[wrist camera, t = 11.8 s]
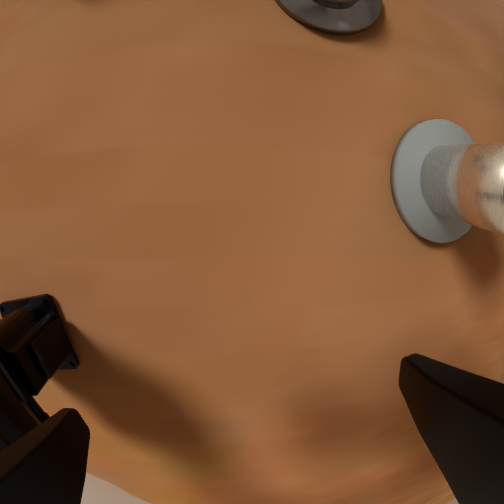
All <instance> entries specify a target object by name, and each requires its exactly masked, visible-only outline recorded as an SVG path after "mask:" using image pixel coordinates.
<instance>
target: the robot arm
mask: <svg viewBox="0 0 504 504" xmlns="http://www.w3.org/2000/svg"><path fill="white" fill-rule="evenodd" d="M45 299H46V300H47V301H48V303H47V302H46V300H45ZM0 313H1V315H2V319H1V320H0V504H80V503H81V498H82V493H83V486H84V482H85V476H86V467H87V457H88V448H89V440H90V430H89V428H88V426H87V425H86V423H85V422H84V420H83V419H82V417H81V415H80V414H79V412H78V411H77V410H76V409H73V408H63V409H61V410H60V411H58V412H57V413H56V414H54V415H53V416H51V417H50V416H49V415H48V414H47V413H46V412H44V411H43V409H42V408H41V407H40V406H39V404H38V403H37V402H36V401H35V399H34V398H33V396H37V395H38V394H39V392H40V391H41V389H42V388H43V387H44V385H45V384H46V382H47V381H48V380H49V379H51V378H52V376H53V375H54V374H55V372H56V371H57V370H58V369H76V368H77V367H78V366H79V360H78V358H77V356H76V354H75V352H74V350H73V348H72V345H71V343H70V341H69V339H68V336H67V334H66V332H65V330H64V327H63V325H62V322H61V320H60V317H59V315H58V312H57V310H56V307H55V304H54V302H53V299H52V297H51V296H50V295H48V294H43V295H37V296H32V297H27V298H21V299H16V300H11V301H5V302H2V303H1V304H0ZM73 362H74V363H73ZM399 387H400V390H401V392H402V394H403V397H404V399H405V401H406V403H407V406H408V408H409V410H410V412H411V415H412V417H413V419H414V422H415V424H416V426H417V428H418V431H419V433H420V434H421V436H422V438H423V440H424V441H425V443H426V445H427V447H428V448H429V450H430V452H431V454H432V455H433V457H434V459H435V461H436V462H437V464H438V466H439V468H440V470H441V471H442V473H443V475H444V477H445V479H446V481H447V482H448V484H449V486H450V488H451V490H452V492H453V494H454V495H455V497H456V499H457V501H458V503H459V504H504V384H503V383H500V382H497V381H494V380H491V379H488V378H485V377H482V376H479V375H476V374H473V373H470V372H467V371H465V370H462V369H459V368H456V367H453V366H450V365H447V364H445V363H442V362H439V361H436V360H433V359H431V358H428V357H425V356H422V355H420V354H417V353H415V354H411V355H409V356H406V357H404V358H402V360H401V365H400V374H399Z"/></svg>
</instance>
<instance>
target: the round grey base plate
mask: <svg viewBox="0 0 504 504" xmlns="http://www.w3.org/2000/svg"><path fill="white" fill-rule="evenodd" d="M275 1H276V2H277V4H278V5H279V6H280V7H281V8H282V10H283V11H284V12H285V13H287V14H288V15H289V16H290V17H292V18H293V19H295V20H296V21H298V22H299V23H301V24H303V25H305V26H307V27H309V28H312V29H314V30H317V31H320V32H324V33H329V34H337V35H348V34H354V33H358V32H360V31H363V30H365V29H366V28H368V27H369V26H370V25H371V24H372V23H373V22H374V21H375V20H376V19H377V18H378V16H379V14H380V12H381V7H382V1H381V0H275Z"/></svg>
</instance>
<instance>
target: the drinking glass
mask: <svg viewBox="0 0 504 504" xmlns="http://www.w3.org/2000/svg"><path fill="white" fill-rule="evenodd" d="M420 187H421V192H422V195H423V198H424V200H425V202H426V204H427V206H428V207H429V208H430V210H431V211H432V212H434V213H435V214H437V215H439V216H441V217H445V218H448V219H452V220H455V221H459V222H462V223H465V224H469V225H472V226H475V227H478V228H482V229H485V230H488V231H491V232H494V233H497V234H500V235H503V236H504V143H487V144H453V145H440V146H437V147H435V148H433V149H432V150H431V151H430V152H429V153H428V154H427V155H426V157H425V159H424V161H423V164H422V167H421V172H420Z"/></svg>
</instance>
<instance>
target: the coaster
mask: <svg viewBox="0 0 504 504" xmlns="http://www.w3.org/2000/svg"><path fill="white" fill-rule="evenodd" d="M453 144H475V143H474V141H473V140H472V138H471V137H470V136H469V135H468V134H467V132H466V131H465V130H463V129H462V128H461V127H460V126H458V125H457V124H455V123H453V122H451V121H448V120H443V119H433V120H428V121H423V122H420V123H418V124H416V125H414V126H412V127H411V128H410V129H409V130H408V131H407V132H406V133H405V134H404V135H403V136H402V138H401V139H400V141H399V143H398V145H397V147H396V149H395V152H394V155H393V159H392V164H391V176H390V180H391V190H392V196H393V200H394V203H395V206H396V208H397V211H398V213H399V215H400V217H401V218H402V220H403V221H404V223H405V224H406V225H407V226H408V228H409V229H410V230H412V231H413V232H414V233H415V234H417V235H419V236H420V237H423V238H425V239H428V240H430V241H433V242H437V243H448V242H452V241H455V240H457V239H459V238H460V237H462V236H463V235H464V234H466V233H467V232H468V231H469V230H470V228H471V227H472V225H469V224H465V223H462V222H459V221H455V220H452V219H448V218H445V217H441V216H439V215H437V214H435V213H434V212H432V211H431V210H430V208H429V207H428V206H427V204H426V202H425V200H424V198H423V195H422V192H421V187H420V172H421V167H422V164H423V161H424V159H425V157H426V155H427V154H428V153H429V152H430V151H431V150H432V149H433V148H435V147H437V146H440V145H453Z"/></svg>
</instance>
